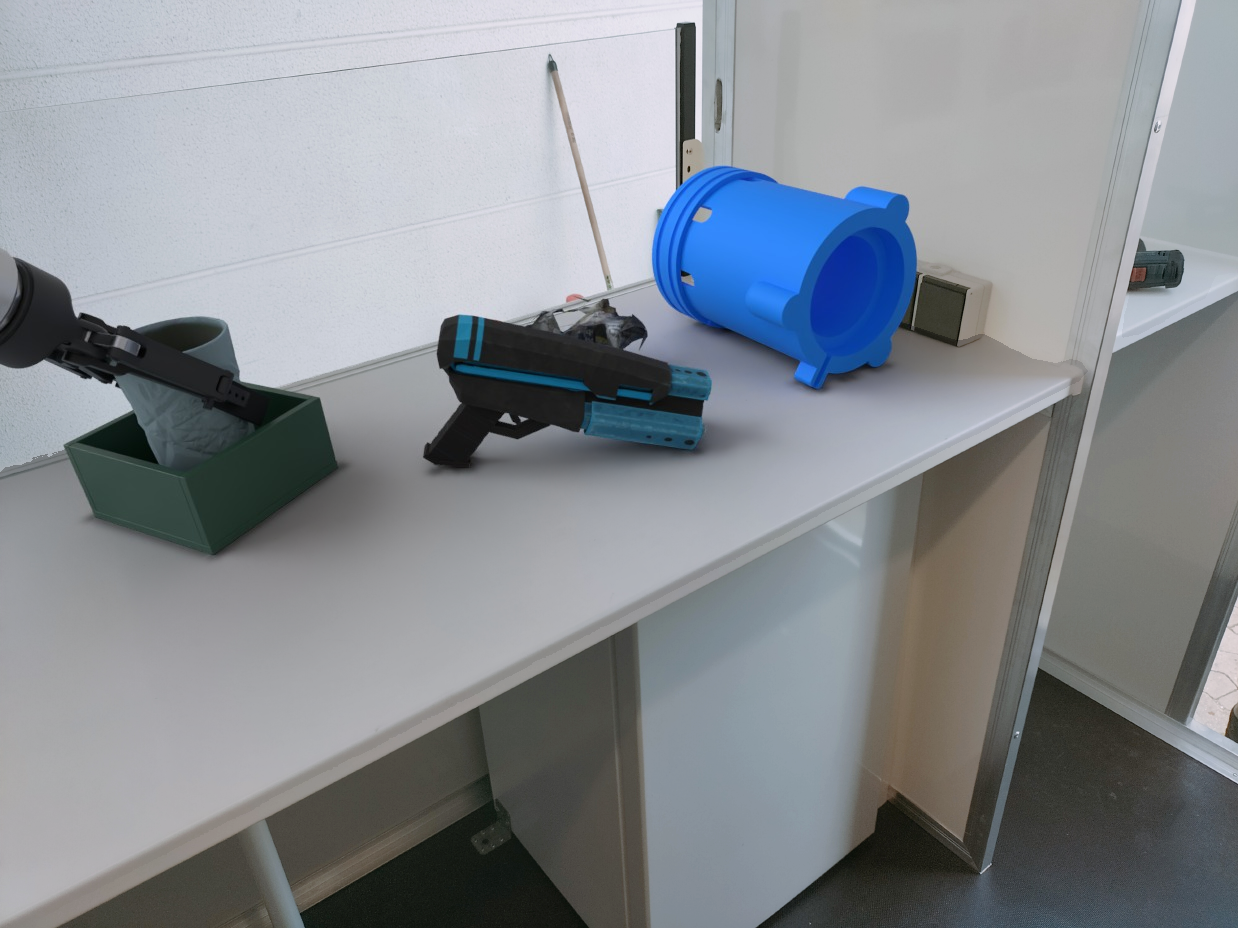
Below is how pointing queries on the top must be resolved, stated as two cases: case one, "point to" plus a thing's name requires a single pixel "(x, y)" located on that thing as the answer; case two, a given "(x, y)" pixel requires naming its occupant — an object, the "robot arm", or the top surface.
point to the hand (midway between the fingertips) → (220, 404)
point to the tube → (789, 266)
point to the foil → (597, 325)
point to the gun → (559, 389)
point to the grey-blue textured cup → (185, 396)
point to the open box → (205, 474)
